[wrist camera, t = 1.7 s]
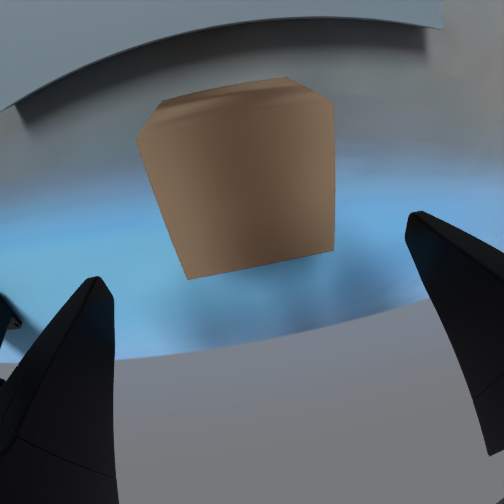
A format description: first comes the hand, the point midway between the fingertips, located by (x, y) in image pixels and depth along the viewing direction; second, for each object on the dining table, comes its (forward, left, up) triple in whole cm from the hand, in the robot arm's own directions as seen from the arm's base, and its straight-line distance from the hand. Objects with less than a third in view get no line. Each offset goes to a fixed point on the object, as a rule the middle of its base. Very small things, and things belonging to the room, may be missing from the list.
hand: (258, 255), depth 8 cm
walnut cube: (0, 0, -9) cm, 9 cm away
